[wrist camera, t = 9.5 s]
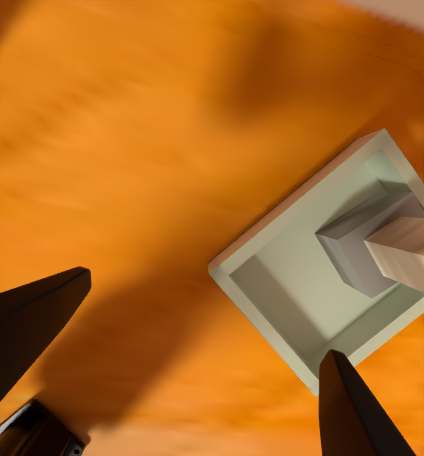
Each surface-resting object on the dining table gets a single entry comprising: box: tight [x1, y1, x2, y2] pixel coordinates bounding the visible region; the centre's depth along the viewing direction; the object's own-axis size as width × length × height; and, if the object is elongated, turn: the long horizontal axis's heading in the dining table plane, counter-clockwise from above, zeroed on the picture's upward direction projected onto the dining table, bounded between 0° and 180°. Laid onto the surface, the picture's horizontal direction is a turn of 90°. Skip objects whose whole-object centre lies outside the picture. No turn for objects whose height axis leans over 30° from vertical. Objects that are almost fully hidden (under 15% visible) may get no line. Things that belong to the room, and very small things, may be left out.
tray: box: [208, 128, 424, 397], centre depth 20 cm, size 16×13×3 cm
